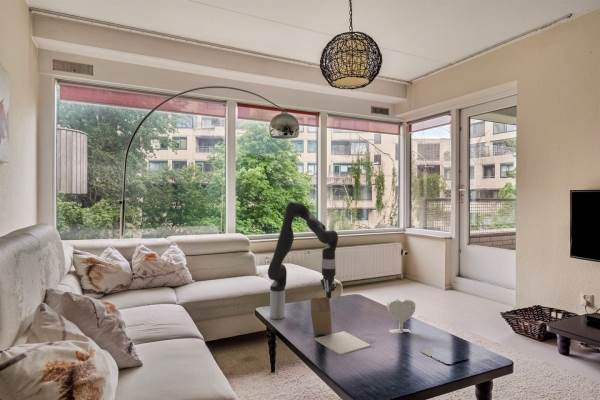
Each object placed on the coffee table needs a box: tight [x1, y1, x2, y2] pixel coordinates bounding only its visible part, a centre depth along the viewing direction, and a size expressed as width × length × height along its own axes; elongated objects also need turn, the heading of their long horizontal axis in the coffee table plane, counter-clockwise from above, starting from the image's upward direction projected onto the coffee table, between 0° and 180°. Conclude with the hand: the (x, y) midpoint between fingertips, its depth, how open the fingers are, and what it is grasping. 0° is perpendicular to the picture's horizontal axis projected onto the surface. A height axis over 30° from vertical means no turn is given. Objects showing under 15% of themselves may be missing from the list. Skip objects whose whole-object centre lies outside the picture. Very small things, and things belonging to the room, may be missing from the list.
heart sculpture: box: [386, 298, 416, 334], centre depth 206 cm, size 16×5×18 cm, turn 96°
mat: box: [314, 330, 372, 356], centre depth 190 cm, size 22×20×1 cm
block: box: [310, 296, 333, 336], centre depth 197 cm, size 10×10×20 cm
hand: (328, 298), depth 200 cm, fingers closed
